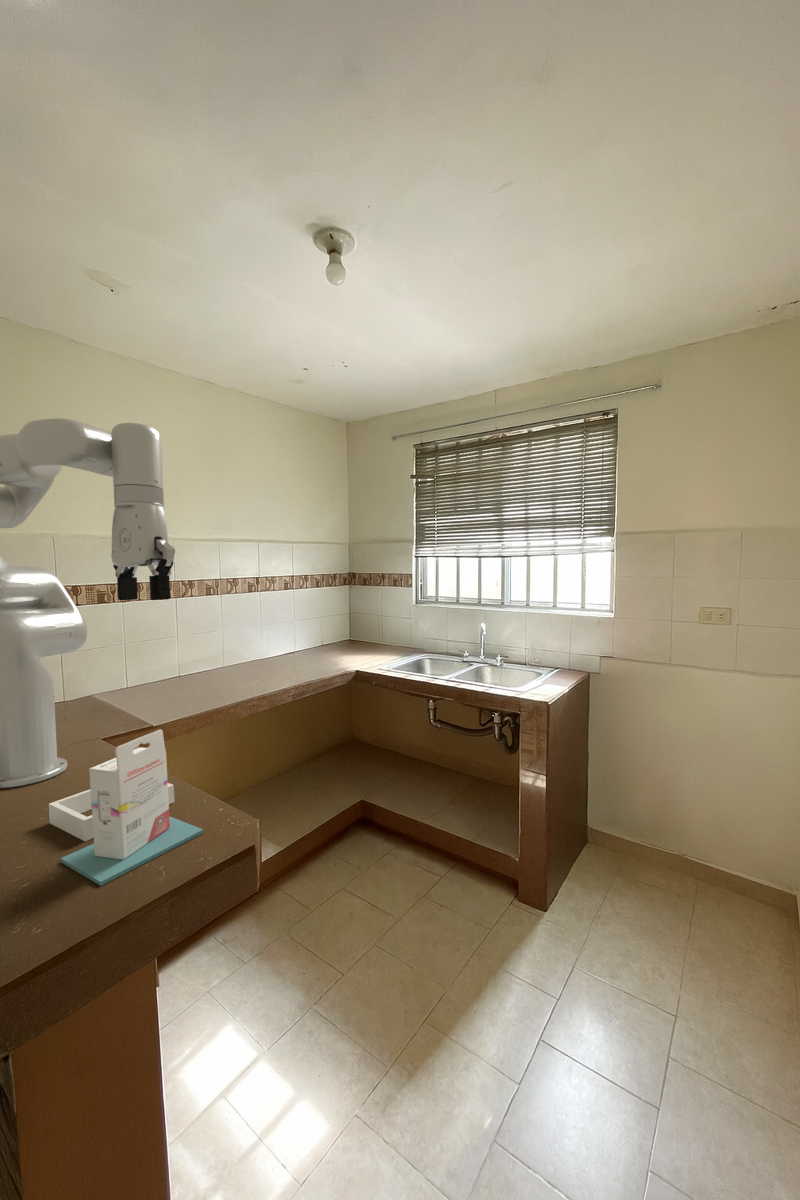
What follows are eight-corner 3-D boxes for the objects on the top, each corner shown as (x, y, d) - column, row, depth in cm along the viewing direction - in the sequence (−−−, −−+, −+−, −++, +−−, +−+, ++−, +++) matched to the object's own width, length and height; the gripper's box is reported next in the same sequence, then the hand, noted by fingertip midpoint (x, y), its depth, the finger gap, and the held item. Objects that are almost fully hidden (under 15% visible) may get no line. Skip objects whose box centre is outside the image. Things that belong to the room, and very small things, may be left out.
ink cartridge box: (142, 824, 72) (138, 725, 71) (171, 828, 70) (166, 727, 70) (91, 856, 63) (86, 745, 63) (122, 861, 62) (117, 747, 61)
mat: (60, 862, 63) (60, 858, 63) (162, 816, 75) (162, 813, 75) (100, 886, 58) (100, 881, 58) (203, 832, 70) (203, 829, 70)
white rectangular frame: (49, 823, 74) (48, 803, 74) (138, 789, 85) (137, 772, 85) (85, 841, 68) (83, 820, 68) (174, 802, 80) (173, 784, 79)
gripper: (90, 502, 84) (94, 600, 85) (147, 490, 75) (151, 600, 76) (133, 507, 91) (137, 598, 92) (190, 497, 82) (194, 598, 82)
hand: (143, 599), depth 84 cm, fingers open, 9 cm apart
